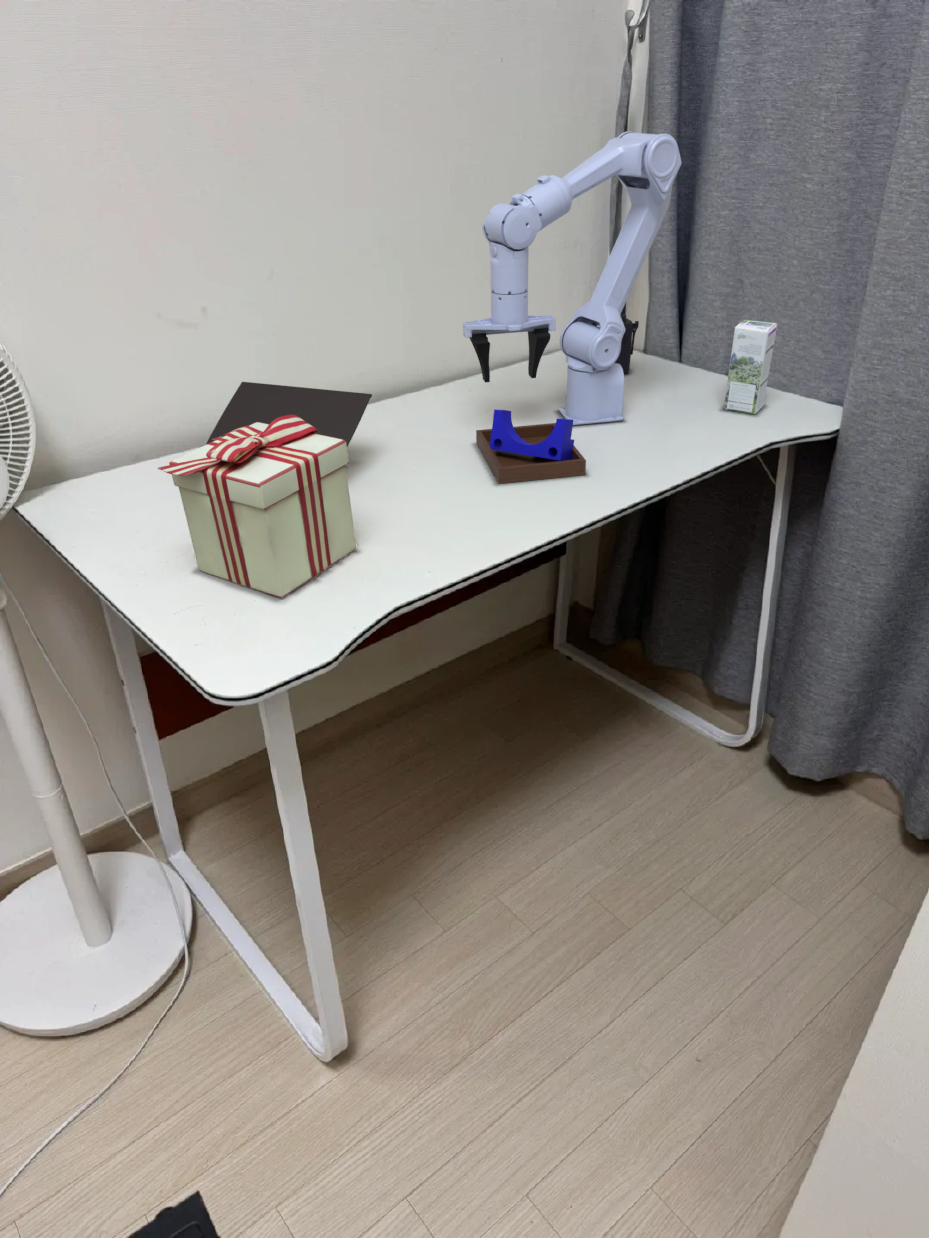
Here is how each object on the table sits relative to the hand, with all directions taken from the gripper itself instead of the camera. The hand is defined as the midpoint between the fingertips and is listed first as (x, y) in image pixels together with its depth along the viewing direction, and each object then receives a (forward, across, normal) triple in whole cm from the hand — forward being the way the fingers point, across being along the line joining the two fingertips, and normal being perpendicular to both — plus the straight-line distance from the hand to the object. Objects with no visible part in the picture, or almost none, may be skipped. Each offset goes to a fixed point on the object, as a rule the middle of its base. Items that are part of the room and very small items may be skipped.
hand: (509, 378), depth 139 cm
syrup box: (+10, +43, +1) cm, 44 cm away
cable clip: (+8, 0, -13) cm, 15 cm away
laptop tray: (+10, -38, -9) cm, 40 cm away
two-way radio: (+10, +30, +28) cm, 42 cm away
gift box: (+10, -40, -35) cm, 54 cm away
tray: (+9, 0, -11) cm, 15 cm away
